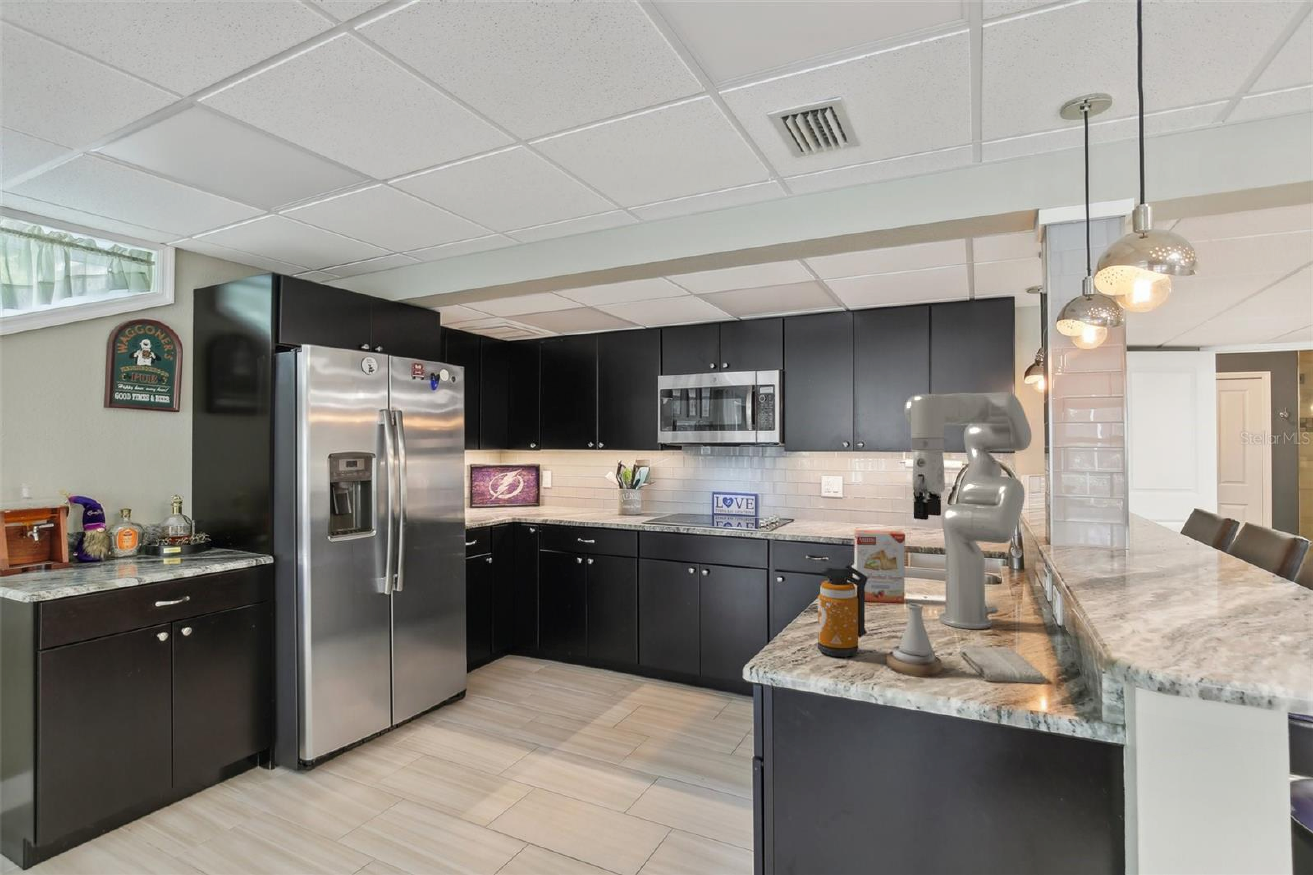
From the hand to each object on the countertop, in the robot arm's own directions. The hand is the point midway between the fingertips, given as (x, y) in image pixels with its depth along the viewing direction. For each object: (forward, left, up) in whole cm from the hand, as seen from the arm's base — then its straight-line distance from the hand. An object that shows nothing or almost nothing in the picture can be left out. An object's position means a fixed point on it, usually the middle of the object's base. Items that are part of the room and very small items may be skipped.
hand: (927, 517), depth 161 cm
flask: (+15, +12, -27) cm, 33 cm away
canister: (+23, -2, -31) cm, 38 cm away
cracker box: (-17, -38, -31) cm, 52 cm away
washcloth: (-2, +19, -31) cm, 36 cm away
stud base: (+15, +12, -30) cm, 36 cm away
